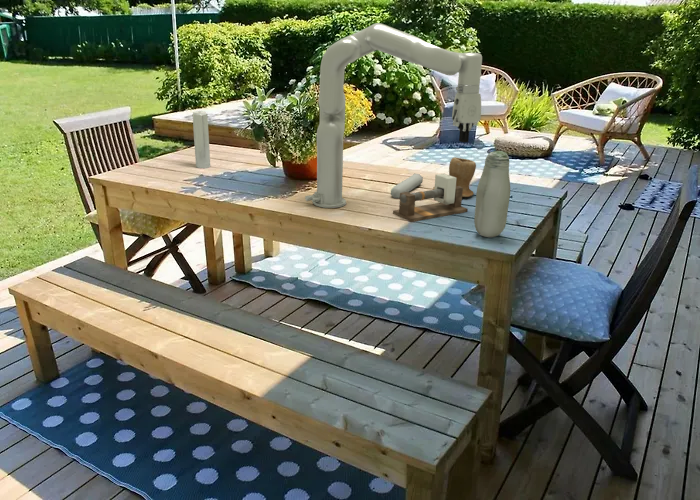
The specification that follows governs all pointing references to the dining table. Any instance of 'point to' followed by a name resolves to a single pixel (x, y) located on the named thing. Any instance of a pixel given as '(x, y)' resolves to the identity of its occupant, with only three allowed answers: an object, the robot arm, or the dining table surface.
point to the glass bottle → (493, 195)
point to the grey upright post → (201, 139)
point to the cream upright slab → (445, 188)
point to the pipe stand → (431, 210)
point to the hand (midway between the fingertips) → (463, 141)
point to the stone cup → (462, 173)
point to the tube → (407, 185)
